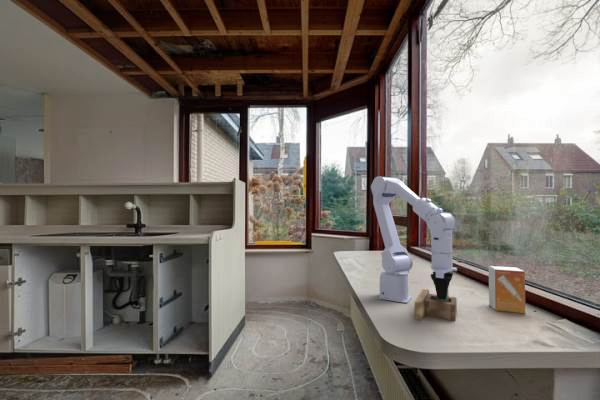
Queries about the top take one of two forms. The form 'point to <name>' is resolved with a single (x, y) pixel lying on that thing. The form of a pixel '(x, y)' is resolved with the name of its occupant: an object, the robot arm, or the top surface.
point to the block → (440, 307)
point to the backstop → (420, 304)
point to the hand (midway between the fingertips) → (442, 297)
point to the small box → (507, 289)
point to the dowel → (446, 298)
